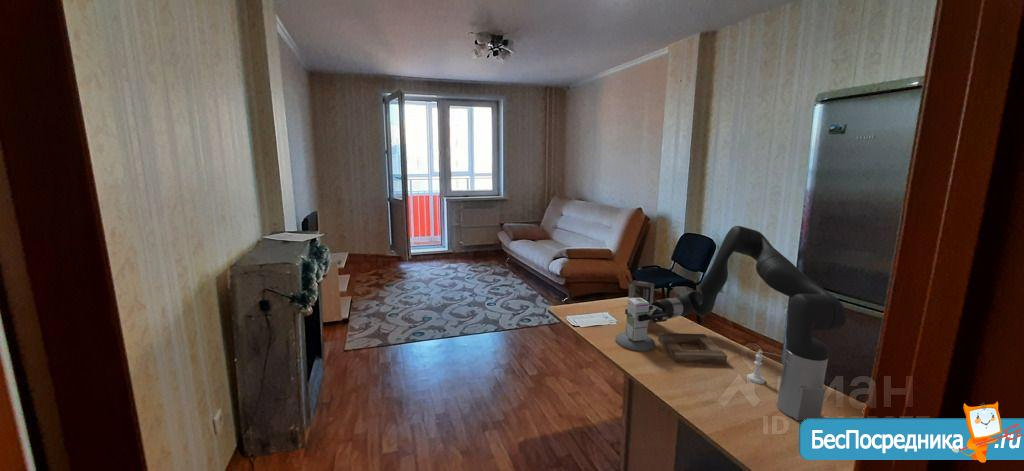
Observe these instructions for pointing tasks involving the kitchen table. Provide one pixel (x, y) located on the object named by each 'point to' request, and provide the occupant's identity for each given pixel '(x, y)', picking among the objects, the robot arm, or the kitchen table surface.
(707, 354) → the walnut holder
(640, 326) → the syrup box
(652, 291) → the coffee box
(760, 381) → the chess piece
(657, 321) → the robot arm
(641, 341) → the slate mat
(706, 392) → the kitchen table surface
